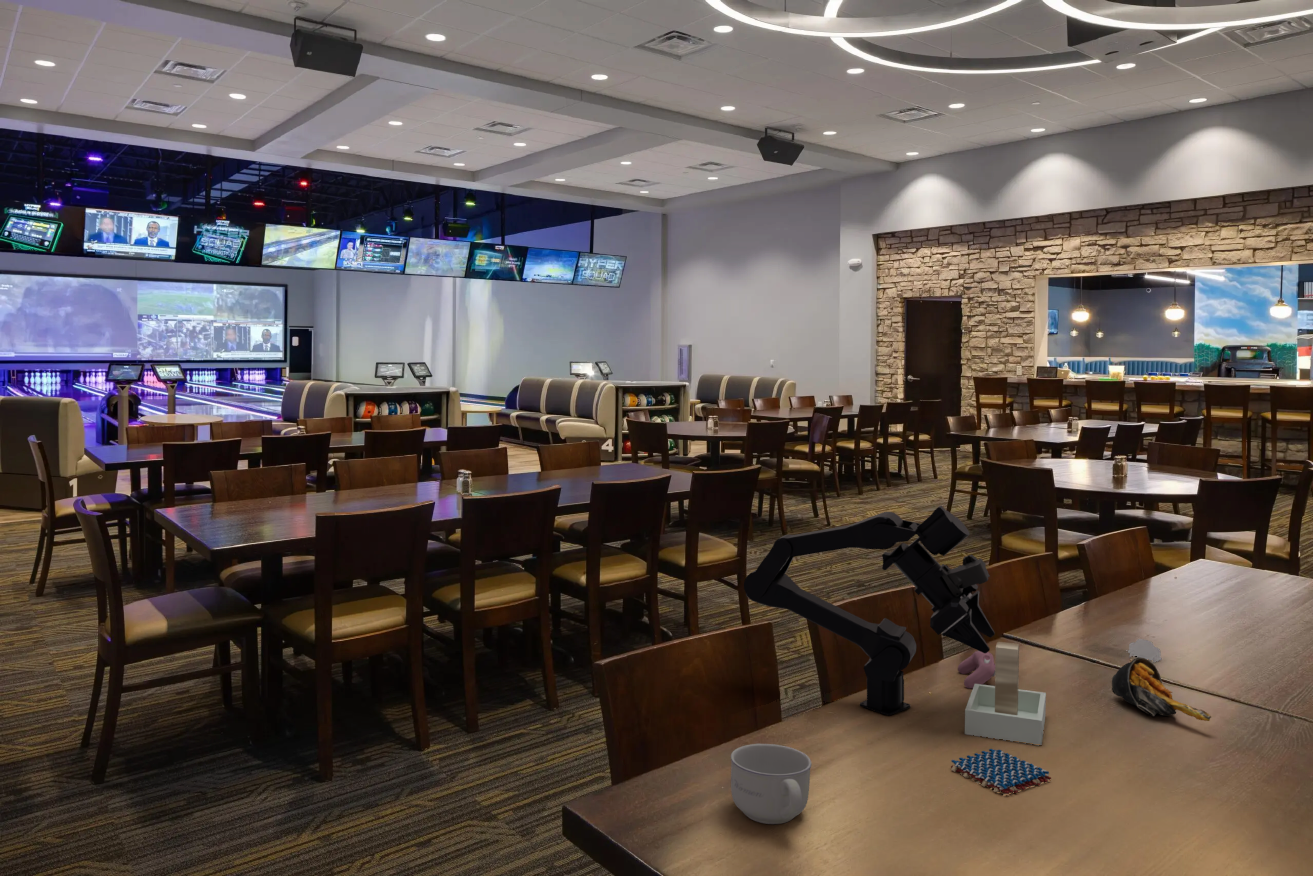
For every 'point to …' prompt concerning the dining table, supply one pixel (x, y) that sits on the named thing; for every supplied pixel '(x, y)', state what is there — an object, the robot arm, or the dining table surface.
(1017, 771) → the woven mat
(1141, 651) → the car cutout
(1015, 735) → the box
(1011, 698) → the plate
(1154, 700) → the fried shrimp in bowl
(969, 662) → the video game controller
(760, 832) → the dining table surface
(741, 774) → the teacup
